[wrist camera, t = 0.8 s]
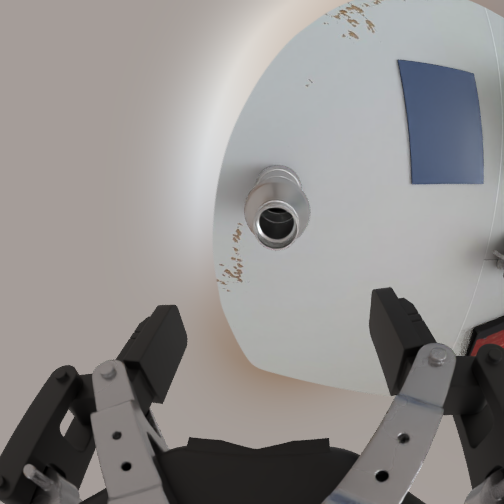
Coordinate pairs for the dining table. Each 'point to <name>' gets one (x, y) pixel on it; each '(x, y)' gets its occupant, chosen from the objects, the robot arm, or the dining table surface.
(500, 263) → the gray elephant figurine
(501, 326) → the notebook
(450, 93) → the flat rectangular board
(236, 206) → the dining table surface
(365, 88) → the dining table surface
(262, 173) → the silver metal bottle
